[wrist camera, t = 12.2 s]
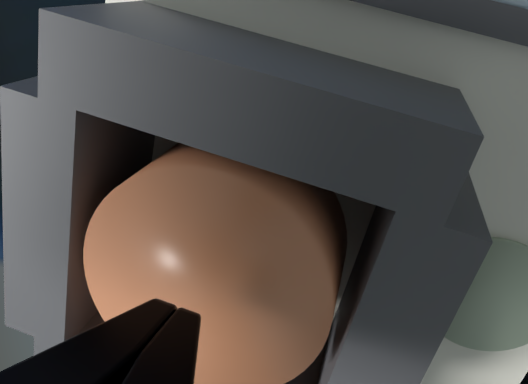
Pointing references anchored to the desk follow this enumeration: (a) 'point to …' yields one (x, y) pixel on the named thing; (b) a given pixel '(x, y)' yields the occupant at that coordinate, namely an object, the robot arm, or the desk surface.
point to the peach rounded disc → (223, 260)
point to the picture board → (296, 160)
